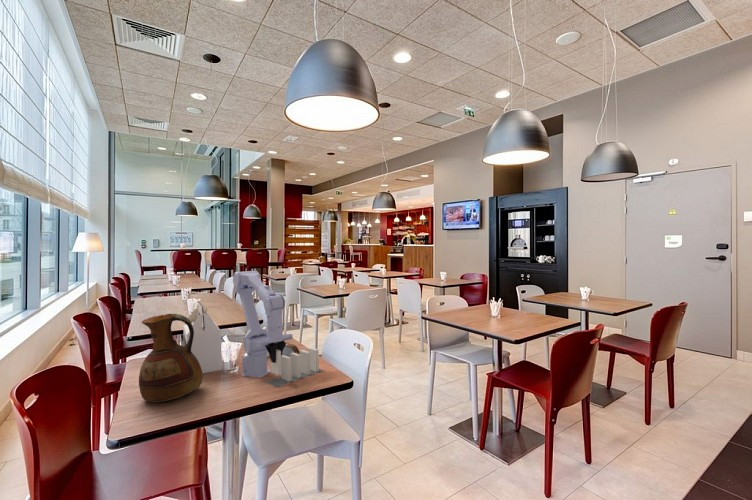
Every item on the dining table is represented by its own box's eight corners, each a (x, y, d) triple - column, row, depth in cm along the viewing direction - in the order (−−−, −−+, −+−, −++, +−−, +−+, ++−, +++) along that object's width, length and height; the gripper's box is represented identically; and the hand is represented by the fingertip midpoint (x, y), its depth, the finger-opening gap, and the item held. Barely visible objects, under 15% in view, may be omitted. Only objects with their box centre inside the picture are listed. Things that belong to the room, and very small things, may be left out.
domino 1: (278, 375, 138) (277, 351, 138) (271, 372, 141) (270, 349, 141) (281, 373, 139) (280, 350, 139) (274, 371, 142) (273, 348, 142)
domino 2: (288, 381, 141) (287, 358, 141) (281, 378, 145) (280, 356, 144) (291, 380, 142) (291, 357, 142) (284, 377, 146) (283, 355, 145)
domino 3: (298, 378, 144) (297, 355, 144) (290, 375, 148) (290, 353, 148) (301, 377, 146) (300, 354, 145) (294, 374, 149) (293, 352, 149)
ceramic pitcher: (141, 392, 135) (138, 312, 134) (201, 381, 145) (198, 306, 144) (137, 413, 118) (133, 322, 117) (205, 399, 128) (202, 315, 127)
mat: (276, 388, 136) (276, 387, 136) (265, 383, 141) (265, 382, 141) (324, 371, 152) (324, 370, 152) (312, 367, 158) (312, 366, 158)
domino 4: (307, 374, 148) (306, 353, 147) (300, 372, 151) (299, 350, 151) (310, 373, 149) (309, 352, 149) (303, 371, 152) (302, 349, 152)
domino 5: (316, 371, 151) (315, 350, 151) (308, 369, 154) (308, 348, 154) (318, 370, 152) (318, 349, 152) (311, 368, 155) (311, 347, 155)
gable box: (222, 370, 157) (220, 306, 156) (188, 376, 150) (185, 309, 149) (215, 356, 176) (213, 299, 175) (184, 362, 169) (182, 302, 168)
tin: (300, 363, 164) (300, 344, 164) (295, 365, 161) (295, 346, 161) (277, 358, 172) (277, 340, 172) (272, 359, 169) (271, 342, 169)
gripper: (263, 331, 132) (264, 368, 132) (296, 324, 142) (297, 358, 142) (253, 329, 136) (254, 364, 137) (286, 322, 147) (287, 355, 147)
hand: (275, 361), depth 140 cm, fingers closed on domino 1, 1 cm apart
